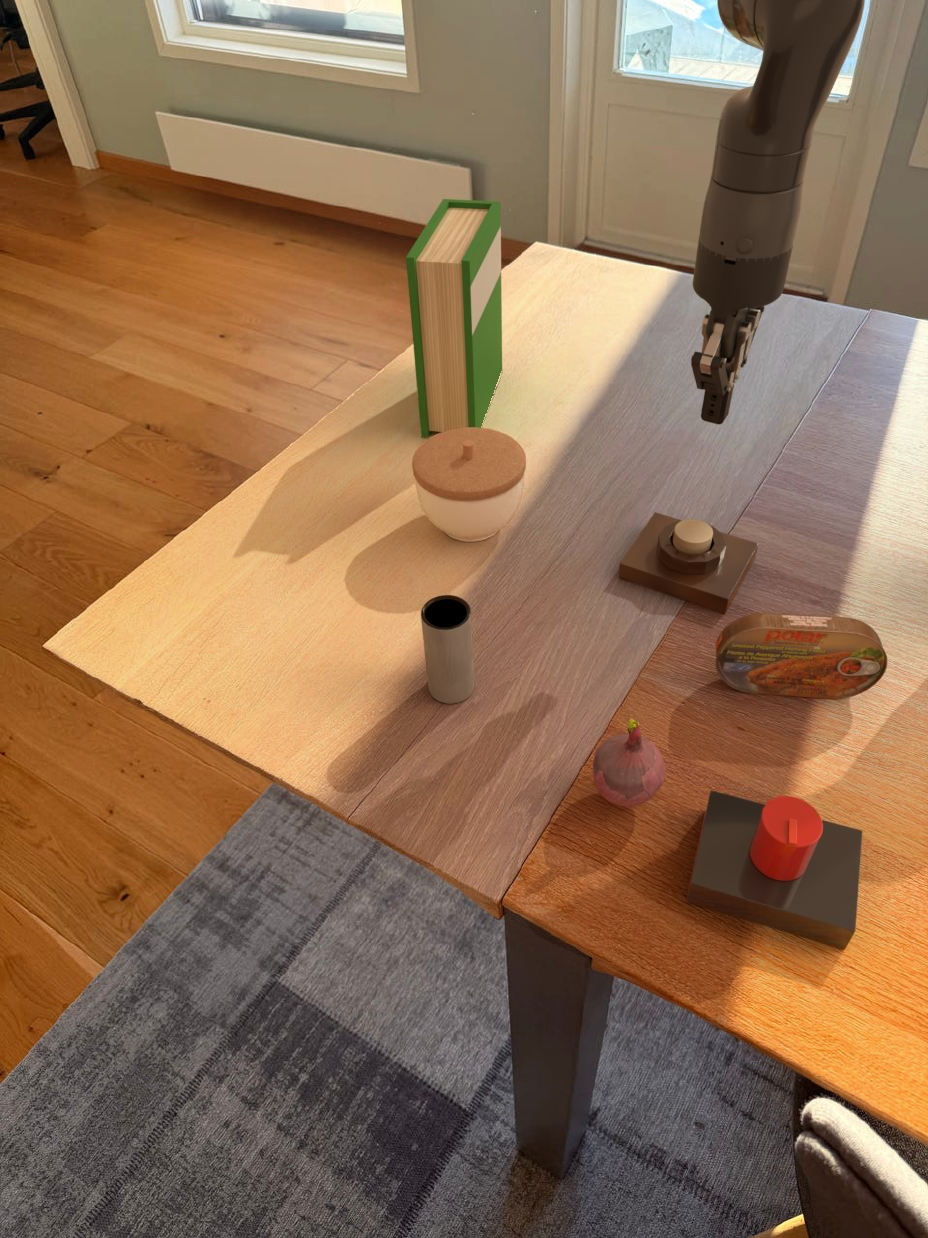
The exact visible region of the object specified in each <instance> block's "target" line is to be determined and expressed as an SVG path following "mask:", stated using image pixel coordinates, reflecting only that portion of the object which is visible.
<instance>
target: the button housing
mask: <svg viewBox="0 0 928 1238" xmlns="http://www.w3.org/2000/svg"><path fill="white" fill-rule="evenodd" d="M683 520H684V519H679V518H675V517H672V516H670V515H667V514H662V513H658V512H653V514H652V516H651V517H650V519H649V520H648V522H647V523H646V525H644V527H643V529H642V531H640V534H638V536H637V537H636V539H635V541H634V542H633V543H632V545H631V546H630V548H629V549H628V551H627V552H626V554H625V555H624V557H623V558H622V560H621V561H620V562H619V569H618V576H617V577H618V579H620V580H623V581H625V582H628V583H631V584H634V585H637V586H640V587H643V588H646V589H649V590H652V591H655V592H657V593H661V594H663V595H666V596H669V597H673V598H675V599H678V600H681V601H685V602H687V603H690V604H692V605H696V606H699V607H702V608H705V609H708V610H711V611H714V612H717V613H720V614H722V615H726V614H727V613H728V610H729V608H730V606H731V605H732V603H733V601H734V599H735V597H736V595H737V594H738V591H739V589H740V588H741V586H742V584H743V582H744V581H745V579H746V576H747V575H748V573H749V571H750V569H751V568H752V566H753V564H754V562H755V560H756V556H757V552H758V548H759V542H755V541H752V540H748V539H745V538H742V537H739V536H735V535H732V534H729V533H725V532H722V531H720V530H718V529H717V528H716V527H714V525H712V524H709V523H707V524H708V525H709V526H710V527H711V528H712V530H713V537H712V542H711V547H710V549H709V550H708V551H707V552H706V553H703V554H699V555H689V554H686V553H683V552H680V551H678V550H677V549H676V548H675V547H674V545H673V535H674V529H675V526H676V525H677V524H678V523H679V522H681V521H683Z"/></svg>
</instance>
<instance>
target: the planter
mask: <svg viewBox="0 0 928 1238" xmlns="http://www.w3.org/2000/svg"><path fill="white" fill-rule="evenodd" d="M420 621H421V631H422V638H423V648H424V649H423V650H424V659H425V667H426V679H427V687H428V691H429V693H430V695H431V697H432V698H433V699H435V701H438V702H439V703H443V704H450V705H451V704H458V703H462V702H463V701H466V700H467V699H469V697H471V695H472V694H473V692H474V690H475V664H474V663H475V662H474V643H473V623H472V609H471V606H470V604H469V603H468V602H467V601H466V600H465V599H464V598H462V597H460V596H457V595H452V594H442V595H437V596H435V597H432V598H430V599H428V600H427V601H426V602H425V603H424V604H423V606H422V607H421V610H420Z"/></svg>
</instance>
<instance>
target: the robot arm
mask: <svg viewBox="0 0 928 1238" xmlns="http://www.w3.org/2000/svg"><path fill="white" fill-rule="evenodd" d="M716 2H717V10H718V15H719V18H720V20H721V22H722V25H723V26H724V28H725V29H726V31H727V32H728V33H729V34H731V35H732V37H734V38H735V39H736V40H738V41H739V42H740V43H741V42H742V43H744V44H746V45H748V46H751V47H752V48H755V49H758V50H759V51H760V50H761V51H762V58H761V62H760V66H759V69H758V71H757V75H756V77H755V80H754V82H753V85H749V86H747V87H743V88H741V89H738V90H737V91H736V92H733V93H732V94H731V95H730V96H729V97H728V99H726V101H725V102H724V105H723V107H722V110H721V113H720V116H719V120H718V126H717V131H716V132H717V133H716V139H715V147H714V152H713V159H712V166H711V167H712V168H711V174H710V178H709V183H708V187H707V190H706V194H705V199H704V202H703V207H702V213H701V220H700V227H699V228H700V229H699V234H698V242H697V249H696V256H695V262H694V269H693V277H692V288H693V291H694V292H695V294H696V295H697V297H699V298H700V299H702V300H704V301H705V303H707V304H708V305H709V307H710V311H709V313H705V315H704V317H703V320H702V326H701V335H702V337H703V338H702V347H701V351H694V353H693V354H692V356H691V359H690V365H691V369H692V373H693V378H694V382H695V385H696V389H698V390H701V391H703V390H704V395H703V400H702V405H701V411H700V418H701V420H702V421H704V422H707V423H710V424H711V423H712V424H714V425H722V424H723V423H724V422H725V421H726V419H727V417H728V416H729V413H730V408H731V403H732V399H733V398H732V396H733V394H734V393H733V392H734V387H735V384H736V383H737V382H738V380H739V378H740V371H741V369H743V368H744V367H745V365H746V364H747V361H748V356H749V354H750V350H751V347H752V344H753V341H754V339H755V335H756V333H757V329H758V326H759V324H760V321H761V318H762V315H763V313H764V311H765V307H766V306H768V305H771V304H773V303H774V302H776V301H777V300H778V299H779V298H781V296H782V294H783V292H784V290H785V286H786V281H787V276H788V271H789V267H790V262H791V257H792V252H793V248H794V243H795V238H796V233H797V231H798V230H797V229H798V225H799V221H800V216H801V211H802V209H801V208H802V197H803V195H802V194H803V188H804V181H805V178H806V177H805V176H806V172H807V166H808V162H809V157H810V153H811V148H812V143H813V138H814V132H815V126H816V124H817V121H818V119H819V117H820V115H821V113H822V111H823V109H824V107H825V105H826V103H827V102H828V99H829V97H830V96H831V93H832V90H833V88H834V86H835V84H836V81H837V79H838V77H839V75H840V73H841V70H842V68H843V66H844V64H845V61H846V60H847V57H848V55H849V53H850V50H851V48H852V46H853V44H854V41H855V39H856V37H857V34H858V32H859V29H860V25H861V23H862V18H863V14H864V9H865V3H866V0H716Z"/></svg>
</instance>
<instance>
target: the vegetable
mask: <svg viewBox="0 0 928 1238" xmlns="http://www.w3.org/2000/svg"><path fill="white" fill-rule="evenodd" d="M627 724H628V727H627V732H628V733H622V734H620V733H619V734H616V735H613V736H610V737H608V738H607V739H605V740H604V741H603V742H602V743H601V744H600V745H599V746H598V747H597V748H596V750H595V753H594V756H593V760H592V777H593V782H594V784H595V787H596V789H597V792H598V793H599V794H600V795H601V796H602V797H603V798H604V800H606V801H608V802H610V803H611V804H613V805H617V806H619V807H627V808H628V807H629V808H631V807H637V806H640V805H644V804H645V803H647V802H649V801H650V800H652V799H653V798H654V797H655V796H656V795H657V793H658V792H659V791H660V789H661V788H662V787H663V784H664V781H665V778H666V765H665V761H664V759H663V755H662V753H661V751H660V750H659V748H658V747H657V746H656V745H655V744H654V742H652V741H650V740H649V739H647V738H646V737H643V736H642V731H641V727H640V722H639V721H637V722H636V720H634V719H633V718H629V719H628V721H627Z"/></svg>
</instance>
